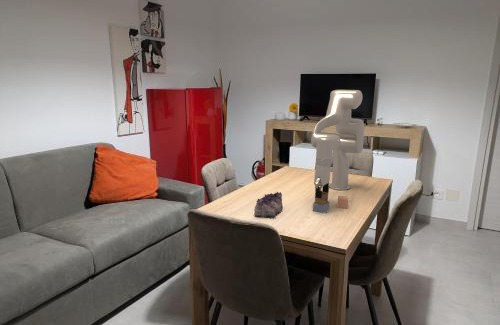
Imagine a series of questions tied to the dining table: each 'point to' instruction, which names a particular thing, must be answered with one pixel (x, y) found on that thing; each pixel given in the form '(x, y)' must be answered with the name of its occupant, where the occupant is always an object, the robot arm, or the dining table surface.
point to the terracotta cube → (342, 202)
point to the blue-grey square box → (321, 207)
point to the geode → (269, 205)
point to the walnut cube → (322, 199)
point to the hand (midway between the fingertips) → (321, 195)
